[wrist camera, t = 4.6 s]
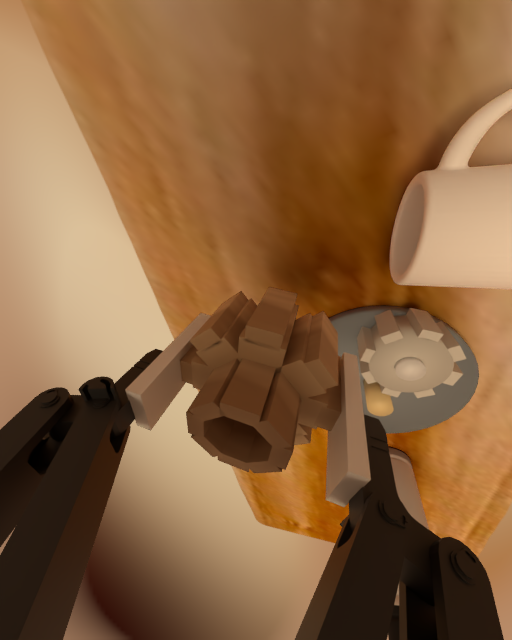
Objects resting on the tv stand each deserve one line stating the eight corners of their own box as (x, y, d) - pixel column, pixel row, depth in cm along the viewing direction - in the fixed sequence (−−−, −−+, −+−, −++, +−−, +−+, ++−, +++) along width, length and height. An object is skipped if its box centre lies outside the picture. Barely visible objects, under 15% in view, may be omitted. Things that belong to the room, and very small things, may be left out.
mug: (508, 269, 20) (593, 312, 13) (383, 267, 23) (403, 301, 16) (607, 80, 14) (850, -10, 7) (419, 108, 17) (475, 61, 10)
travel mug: (357, 448, 38) (375, 650, 22) (399, 443, 35) (458, 679, 18) (374, 470, 40) (403, 673, 23) (416, 467, 36) (484, 703, 20)
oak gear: (213, 273, 13) (131, 337, 8) (361, 308, 12) (383, 416, 6) (212, 372, 18) (161, 453, 13) (318, 406, 16) (309, 514, 11)
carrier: (318, 281, 25) (315, 306, 20) (525, 327, 22) (582, 370, 17) (284, 398, 37) (276, 432, 32) (416, 440, 33) (430, 486, 28)
